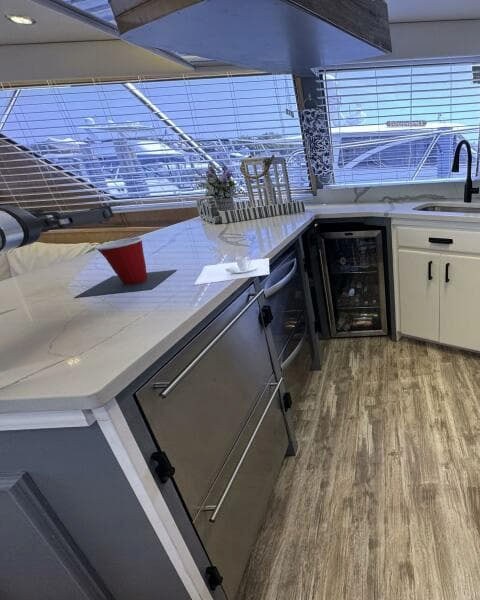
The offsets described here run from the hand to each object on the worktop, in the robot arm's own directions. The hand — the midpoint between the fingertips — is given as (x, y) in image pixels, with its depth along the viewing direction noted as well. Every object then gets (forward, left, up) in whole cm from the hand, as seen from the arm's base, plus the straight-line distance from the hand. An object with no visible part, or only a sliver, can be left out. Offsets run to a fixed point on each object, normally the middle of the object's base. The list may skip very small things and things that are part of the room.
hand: (77, 212), depth 76 cm
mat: (0, +10, -21) cm, 23 cm away
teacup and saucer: (+28, +12, -21) cm, 37 cm away
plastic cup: (+1, +10, -21) cm, 23 cm away
